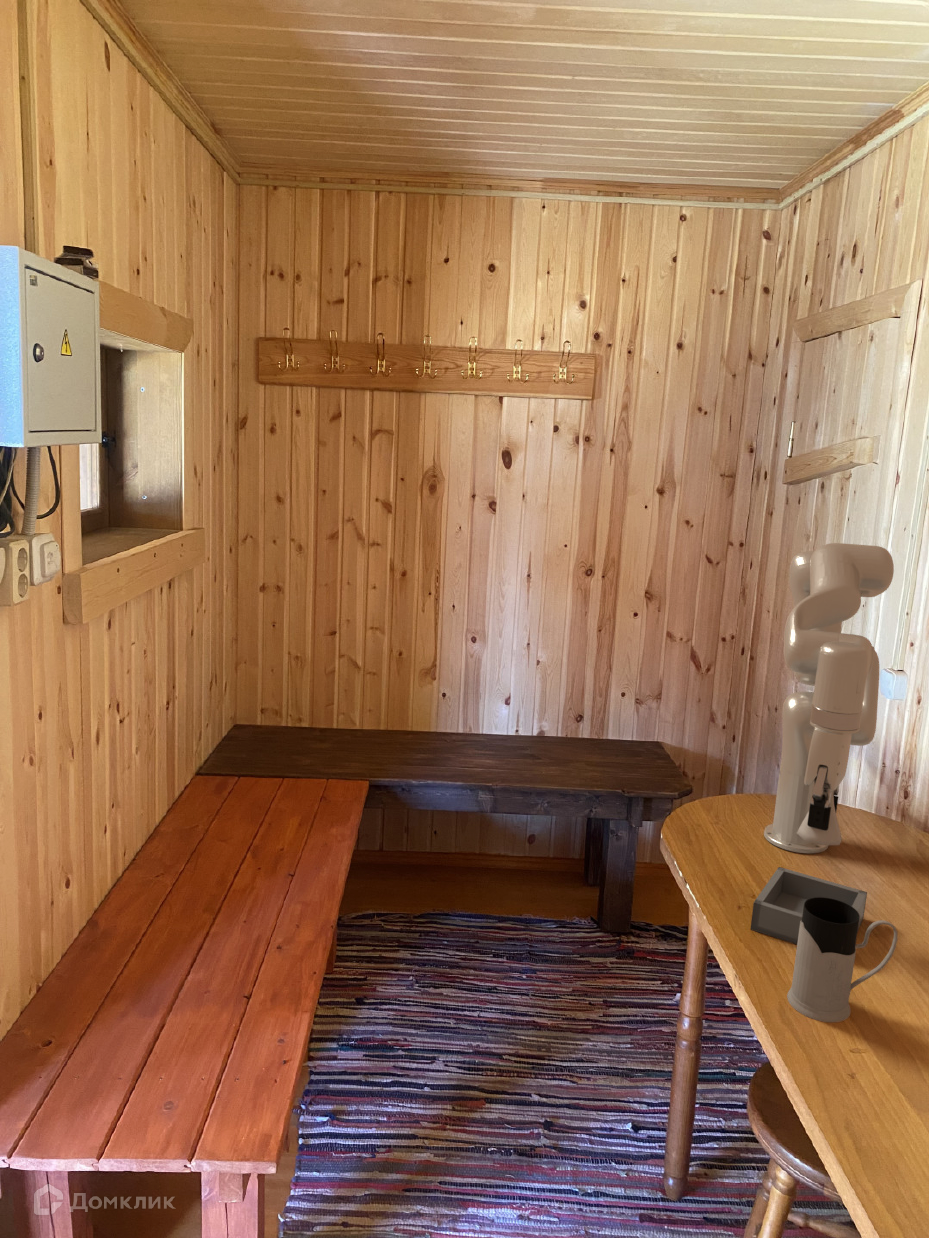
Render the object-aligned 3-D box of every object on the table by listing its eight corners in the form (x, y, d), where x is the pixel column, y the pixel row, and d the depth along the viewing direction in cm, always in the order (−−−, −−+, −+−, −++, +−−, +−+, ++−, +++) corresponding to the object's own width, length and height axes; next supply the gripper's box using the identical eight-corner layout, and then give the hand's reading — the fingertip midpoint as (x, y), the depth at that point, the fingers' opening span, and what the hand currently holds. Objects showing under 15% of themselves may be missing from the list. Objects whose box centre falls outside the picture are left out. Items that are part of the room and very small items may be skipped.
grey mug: (779, 983, 139) (791, 893, 136) (873, 989, 139) (887, 898, 136) (798, 1020, 130) (811, 924, 127) (898, 1026, 130) (914, 930, 127)
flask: (846, 849, 149) (854, 792, 147) (799, 843, 151) (807, 786, 149) (837, 831, 156) (845, 776, 154) (793, 825, 158) (800, 770, 155)
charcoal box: (775, 891, 167) (778, 866, 166) (863, 918, 159) (867, 892, 158) (750, 929, 154) (753, 902, 153) (844, 960, 146) (848, 931, 145)
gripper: (823, 701, 158) (810, 800, 162) (798, 725, 144) (785, 833, 148) (869, 710, 154) (855, 811, 158) (849, 736, 140) (834, 846, 144)
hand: (821, 821), depth 153 cm, fingers closed on flask, 4 cm apart
